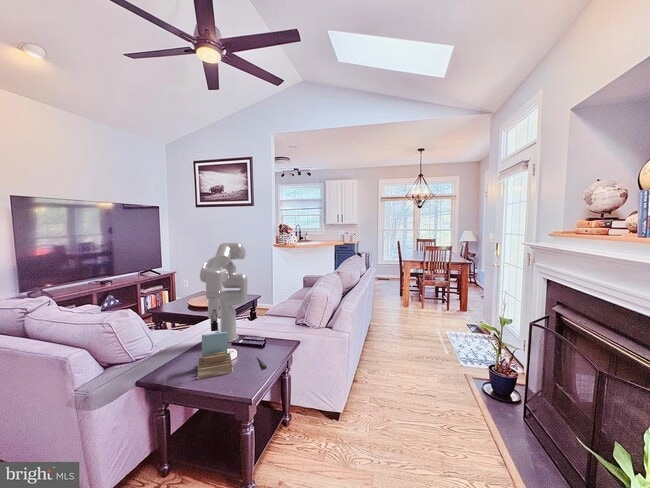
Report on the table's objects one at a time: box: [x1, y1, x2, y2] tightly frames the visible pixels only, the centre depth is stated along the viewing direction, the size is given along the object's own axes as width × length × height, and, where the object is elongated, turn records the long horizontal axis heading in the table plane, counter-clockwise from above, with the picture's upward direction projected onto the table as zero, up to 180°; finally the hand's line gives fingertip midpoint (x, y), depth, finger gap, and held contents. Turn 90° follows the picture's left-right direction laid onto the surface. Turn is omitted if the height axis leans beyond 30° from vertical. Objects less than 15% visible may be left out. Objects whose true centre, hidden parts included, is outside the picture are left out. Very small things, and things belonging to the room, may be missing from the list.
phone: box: [256, 356, 268, 371], centre depth 145 cm, size 8×1×15 cm
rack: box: [196, 352, 234, 380], centre depth 138 cm, size 15×16×5 cm
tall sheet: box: [201, 331, 228, 360], centre depth 142 cm, size 2×12×16 cm, turn 113°
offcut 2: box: [204, 354, 226, 365], centre depth 137 cm, size 2×10×7 cm, turn 113°
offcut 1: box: [204, 351, 226, 357], centre depth 139 cm, size 2×10×7 cm, turn 113°
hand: (214, 327), depth 141 cm, fingers open, 9 cm apart
